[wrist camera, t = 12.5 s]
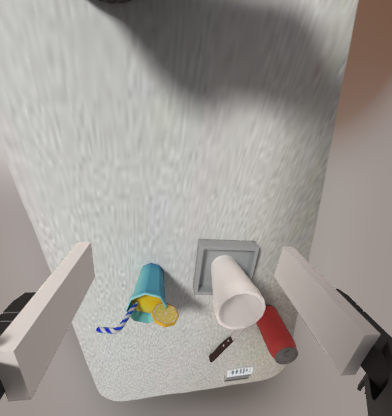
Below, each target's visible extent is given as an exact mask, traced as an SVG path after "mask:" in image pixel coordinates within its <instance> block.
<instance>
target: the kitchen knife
mask: <svg viewBox="0 0 392 416" xmlns="http://www.w3.org/2000/svg"><path fill="white" fill-rule="evenodd" d="M244 329H245V328H242V329H237V330H236V331H235V332H234V333H233V334H232V335H231V336H230V337H229V338H227V339H226V340H225V341H224V342H222V343H221V344H220V345H219V346H218V347H217V349H216V350H215V351H214V352H213V353H212V354H210V355H209V359H210V362H213V361H214V360H215V359H216V358H217V357H218V356H219V355H220V354H221V353H222V352H223V351H224V350H225V349H226V348H227V347H228V346H229V345H230V344H231V343H232V342H233V340H234V339H235V338H236V337H237V336H238V335H239V334H240V333H241V332H242V331H243V330H244Z"/></svg>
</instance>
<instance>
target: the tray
mask: <svg viewBox="0 0 392 416" xmlns="http://www.w3.org/2000/svg"><path fill="white" fill-rule="evenodd" d="M259 249H260V248H259V246H258V245H257V244H256V242H255V241H237V240H210V239H199V242H198V250H197V258H196V265H195V273H194V281H193V290H194V295H213V289H212V277H211V264H212V262H213V261H214V260H215V259H216V258H217V257H219V256H223V255H228V256H231V257H233V258H234V259H235V261H236V262H237V263H238V264H239V266H240V267H241V268H242V270H243V271H244V272H245V274H246V275H247V276H248V278H249V279H250V280H252V276H253V273H254V269H255V265H256V261H257V257H258V253H259Z"/></svg>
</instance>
